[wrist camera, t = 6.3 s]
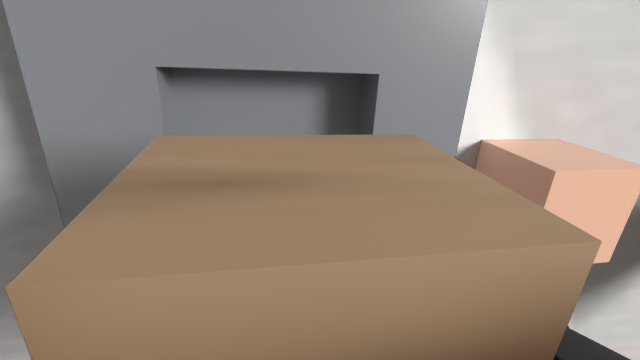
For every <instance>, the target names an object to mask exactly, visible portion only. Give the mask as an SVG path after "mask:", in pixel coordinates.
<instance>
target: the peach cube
mask: <svg viewBox="0 0 640 360" xmlns="http://www.w3.org/2000/svg"><path fill="white" fill-rule="evenodd" d="M475 170H477V171H479V172H480V173H482V174H484V175H486V176H488V177H489V178H491V179H493V180H495V181H496V182H498V183H500V184H502V185H503V186H505V187H507V188H509V189H511V190H512V191H514V192H516V193H518V194H519V195H521V196H523V197H525V198H526V199H528V200H530V201H532V202H534V203H535V204H537V205H539V206H541V207H542V208H544V209H546V210H548V211H549V212H551V213H553V214H555V215H557V216H558V217H560V218H562V219H564V220H565V221H567V222H569V223H571V224H573V225H574V226H576V227H578V228H580V229H581V230H583V231H585V232H587V233H588V234H590V235H592V236H594V237H596V238H597V239H599V240H601V241H602V243H601V245H600V248H599V250H598V252H597V255H596V257H595V260H594V262H593V264H594V263H605V262H609V261H610V259H611V256H612V254H613V252H614V250H615V247H616V245H617V243H618V240H619V238H620V236H621V234H622V231H623V229H624V227H625V225H626V222H627V220H628V218H629V216H630V213H631V211H632V209H633V207H634V204H635V202H636V200H637V198H638V195H639V193H640V165H637V164H634V163H631V162H628V161H625V160H622V159H619V158H616V157H612V156H609V155H606V154H603V153H600V152H597V151H594V150H591V149H587V148H584V147H581V146H578V145H575V144H572V143H569V142H566V141H562V140H559V139H514V140H482V141H481V145H480V149H479V154H478V158H477V162H476V166H475Z"/></svg>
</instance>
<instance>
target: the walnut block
mask: <svg viewBox="0 0 640 360" xmlns="http://www.w3.org/2000/svg"><path fill="white" fill-rule="evenodd" d="M601 243H602V241H601V240H599V239H597V238H596V237H594V236H592V235H590V234H588V233H587V232H585V231H583V230H581V229H580V228H578V227H576V226H574V225H573V224H571V223H569V222H567V221H565V220H564V219H562V218H560V217H558V216H557V215H555V214H553V213H551V212H549V211H548V210H546V209H544V208H542V207H541V206H539V205H537V204H535V203H534V202H532V201H530V200H528V199H526V198H525V197H523V196H521V195H519V194H518V193H516V192H514V191H512V190H511V189H509V188H507V187H505V186H503V185H502V184H500V183H498V182H496V181H495V180H493V179H491V178H489V177H488V176H486V175H484V174H482V173H480V172H479V171H477V170H475V169H473V168H472V167H470V166H468V165H466V164H465V163H463V162H461V161H459V160H457V159H456V158H454V157H452V156H450V155H449V154H447V153H445V152H443V151H442V150H440V149H438V148H436V147H434V146H433V145H431V144H429V143H427V142H426V141H424V140H422V139H420V138H419V137H417V136H415V135H413V134H409V135H157V136H156V137H155V138H154V139H153V140H152V141H151V142H150V143H149V144H148V145H147V146H146V147H145V148H144V149H143V150H142V151H141V152H140V153H139V154H138V155H137V156H136V157H135V158H134V159H133V160H132V161H131V162H130V163H129V164H128V165H127V166H126V167H125V168H124V169H123V170H122V171H121V172H120V173H119V174H118V175H117V176H116V177H115V178H114V179H113V180H112V181H111V182H110V183H109V184H108V185H107V186H106V187H105V188H104V189H103V190H102V191H101V192H100V193H99V194H98V195H97V196H96V197H95V198H94V199H93V200H92V201H91V202H90V203H89V204H88V205H87V206H86V207H85V208H84V209H83V210H82V211H81V212H80V213H79V214H78V215H77V216H76V217H75V218H74V219H73V220H72V221H71V222H70V223H69V224H68V225H67V226H66V227H65V228H64V229H63V230H62V231H61V232H60V233H59V234H58V235H57V236H56V237H55V238H54V239H53V240H52V241H51V242H50V243H49V244H48V245H47V246H46V247H45V248H44V249H43V250H42V251H41V252H40V253H39V254H38V255H37V256H36V257H35V258H34V259H33V260H32V261H31V262H30V263H29V264H28V265H27V266H26V267H25V268H24V269H23V270H22V271H21V272H20V273H19V274H18V275H17V276H16V277H15V278H14V279H13V280H12V281H11V282H10V283H9V284H8V285H7V286H6V287H5V290H6V292H7V295H8V298H9V300H10V303H11V306H12V308H13V311H14V314H15V316H16V319H17V322H18V324H19V327H20V330H21V332H22V335H23V338H24V340H25V343H26V346H27V348H28V351H29V354H30V356H31V359H32V360H553V359H554V357H555V354H556V352H557V349H558V347H559V344H560V342H561V340H562V337H563V335H564V332H565V330H566V327H567V325H568V323H569V320H570V318H571V315H572V313H573V311H574V308H575V306H576V303H577V301H578V298H579V296H580V294H581V291H582V289H583V286H584V284H585V282H586V279H587V277H588V274H589V272H590V269H591V267H592V265H593V262H594V260H595V257H596V255H597V252H598V250H599V248H600V245H601Z"/></svg>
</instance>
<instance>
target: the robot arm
mask: <svg viewBox="0 0 640 360" xmlns="http://www.w3.org/2000/svg"><path fill="white" fill-rule="evenodd" d="M553 360H630V359H628V358H626V357H624V356H622V355H621V354H619V353H617V352H615V351H613V350H611V349H609V348H607V347H605V346H603V345H601V344H599V343H597V342H595V341H593V340H591V339H589V338H587V337H585V336H583V335H581V334H579V333H577V332H575V331H574V330H572V329H570V328H569V327H568V326H567V327H566V330H565V332H564V335H563V337H562V340H561V342H560V344H559V347H558V349H557V352H556V354H555V357H554V359H553Z"/></svg>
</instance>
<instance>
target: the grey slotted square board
mask: <svg viewBox="0 0 640 360" xmlns="http://www.w3.org/2000/svg"><path fill="white" fill-rule="evenodd" d="M2 2H3V6H4V10H5V13H6V17H7V21H8V24H9V28H10V32H11V35H12V39H13V43H14V46H15V50H16V54H17V57H18V61H19V65H20V68H21V72H22V75H23V79H24V83H25V86H26V90H27V94H28V97H29V101H30V105H31V108H32V112H33V116H34V119H35V123H36V127H37V130H38V134H39V138H40V141H41V145H42V148H43V152H44V156H45V159H46V163H47V167H48V170H49V174H50V178H51V181H52V185H53V189H54V192H55V196H56V200H57V203H58V207H59V210H60V214H61V218H62V221H63V225H64V228H65V227H66V226H67V225H68V224H69V223H70V222H71V221H72V220H73V219H74V218H75V217H76V216H77V215H78V214H79V213H80V212H81V211H82V210H83V209H84V208H85V207H86V206H87V205H88V204H89V203H90V202H91V201H92V200H93V199H94V198H95V197H96V196H97V195H98V194H99V193H100V192H101V191H102V190H103V189H104V188H105V187H106V186H107V185H108V184H109V183H110V182H111V181H112V180H113V179H114V178H115V177H116V176H117V175H118V174H119V173H120V172H121V171H122V170H123V169H124V168H125V167H126V166H127V165H128V164H129V163H130V162H131V161H132V160H133V159H134V158H135V157H136V156H137V155H138V154H139V153H140V152H141V151H142V150H143V149H144V148H145V147H146V146H147V145H148V144H149V143H150V142H151V141H152V140H153V139H154V138H155V137H156V136H157V135H409V134H413V135H415V136H417V137H419V138H420V139H422V140H424V141H426V142H427V143H429V144H431V145H433V146H434V147H436V148H438V149H440V150H442V151H443V152H445V153H447V154H449V155H450V156H452V157H454V158H455V157H456V152H457V148H458V143H459V138H460V133H461V128H462V124H463V119H464V114H465V109H466V104H467V99H468V95H469V90H470V85H471V80H472V75H473V70H474V66H475V61H476V56H477V51H478V46H479V41H480V37H481V32H482V27H483V22H484V17H485V13H486V8H487V3H488V0H2Z"/></svg>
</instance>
